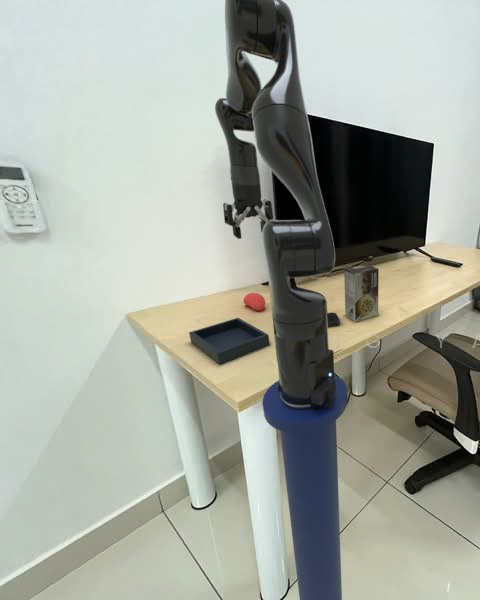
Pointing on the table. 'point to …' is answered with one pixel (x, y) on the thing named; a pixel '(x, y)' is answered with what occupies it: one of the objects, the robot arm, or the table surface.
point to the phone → (333, 319)
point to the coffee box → (361, 292)
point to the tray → (229, 340)
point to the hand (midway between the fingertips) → (251, 235)
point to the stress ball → (254, 301)
